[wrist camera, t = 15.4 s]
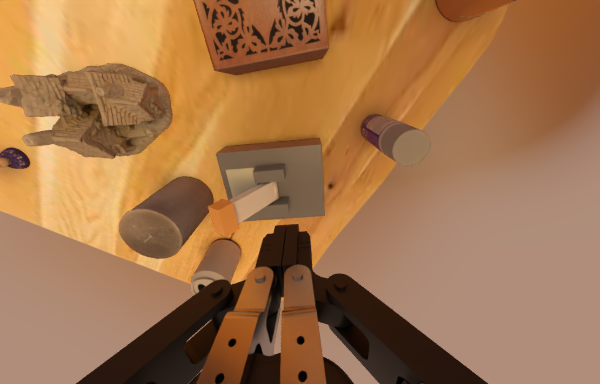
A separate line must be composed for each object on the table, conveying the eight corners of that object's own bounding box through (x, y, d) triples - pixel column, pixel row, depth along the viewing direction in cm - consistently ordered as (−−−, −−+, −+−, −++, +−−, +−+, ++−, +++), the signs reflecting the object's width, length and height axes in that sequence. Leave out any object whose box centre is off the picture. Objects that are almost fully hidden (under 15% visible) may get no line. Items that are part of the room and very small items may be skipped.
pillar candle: (190, 222, 48) (148, 273, 35) (157, 189, 45) (96, 232, 31) (223, 202, 46) (191, 249, 33) (191, 166, 43) (141, 202, 29)
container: (382, 142, 40) (422, 169, 26) (358, 138, 40) (386, 164, 26) (390, 116, 38) (438, 131, 24) (364, 112, 38) (398, 125, 24)
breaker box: (225, 146, 41) (208, 158, 33) (319, 138, 40) (322, 149, 32) (241, 209, 47) (229, 231, 39) (322, 203, 46) (326, 224, 38)
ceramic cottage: (89, 147, 41) (-10, 173, 27) (76, 50, 35) (-60, 21, 21) (174, 166, 43) (123, 199, 30) (177, 79, 37) (113, 70, 23)
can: (206, 239, 50) (180, 279, 40) (236, 235, 50) (218, 275, 39) (217, 262, 54) (195, 306, 43) (245, 259, 53) (230, 302, 42)
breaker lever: (269, 175, 38) (207, 206, 29) (279, 177, 37) (217, 210, 28) (273, 196, 40) (216, 232, 31) (282, 199, 39) (226, 237, 30)
